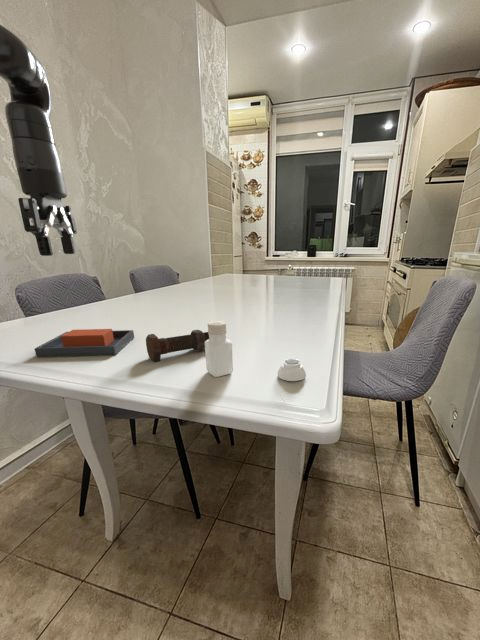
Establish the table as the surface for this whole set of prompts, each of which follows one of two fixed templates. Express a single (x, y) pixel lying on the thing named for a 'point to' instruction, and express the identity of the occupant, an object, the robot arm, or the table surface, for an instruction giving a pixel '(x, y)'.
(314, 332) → the table surface
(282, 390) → the table surface
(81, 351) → the tray
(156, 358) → the bolt
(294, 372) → the lidless jar
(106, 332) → the pad
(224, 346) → the white square bottle
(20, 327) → the table surface
